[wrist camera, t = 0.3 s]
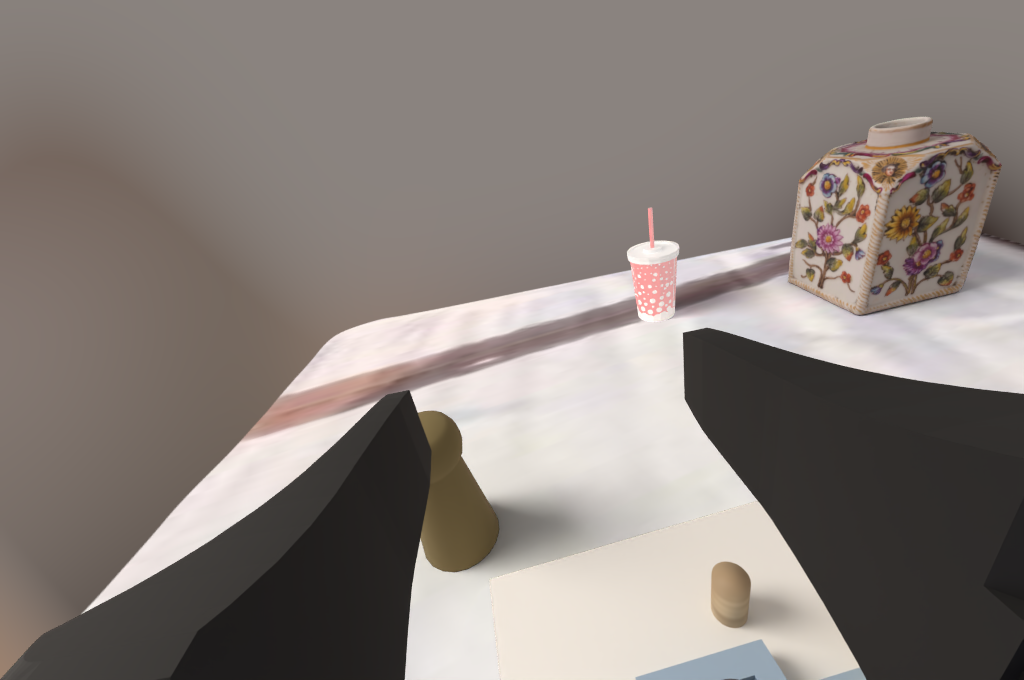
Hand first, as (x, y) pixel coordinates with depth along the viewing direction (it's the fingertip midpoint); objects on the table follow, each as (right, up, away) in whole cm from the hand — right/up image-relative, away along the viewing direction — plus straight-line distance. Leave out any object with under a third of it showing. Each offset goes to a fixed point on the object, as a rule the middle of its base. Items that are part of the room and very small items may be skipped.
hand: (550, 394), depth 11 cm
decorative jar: (+41, +8, +39) cm, 57 cm away
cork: (-5, -14, +21) cm, 26 cm away
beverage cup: (+18, +5, +44) cm, 48 cm away
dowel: (+11, -14, +12) cm, 22 cm away
